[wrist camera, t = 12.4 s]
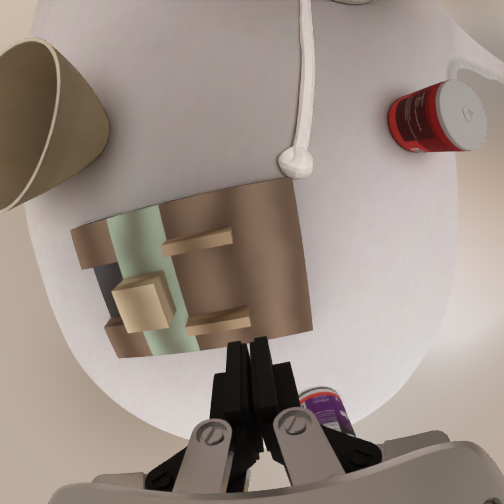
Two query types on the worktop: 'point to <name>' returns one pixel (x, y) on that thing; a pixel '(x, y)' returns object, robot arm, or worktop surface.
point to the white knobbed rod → (303, 103)
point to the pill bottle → (327, 409)
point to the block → (145, 302)
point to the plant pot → (44, 121)
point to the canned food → (439, 119)
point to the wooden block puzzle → (207, 267)
